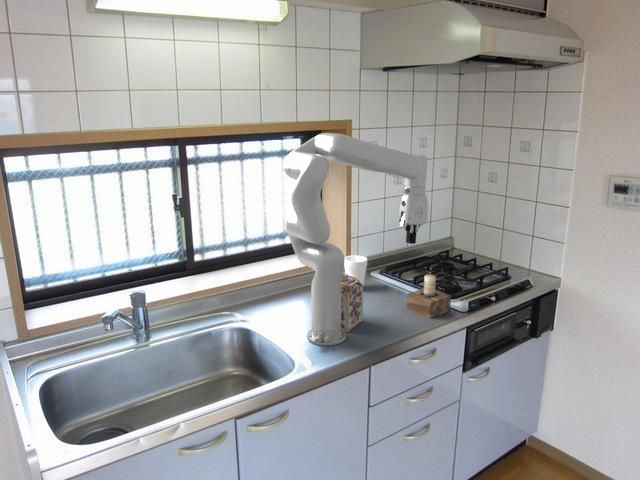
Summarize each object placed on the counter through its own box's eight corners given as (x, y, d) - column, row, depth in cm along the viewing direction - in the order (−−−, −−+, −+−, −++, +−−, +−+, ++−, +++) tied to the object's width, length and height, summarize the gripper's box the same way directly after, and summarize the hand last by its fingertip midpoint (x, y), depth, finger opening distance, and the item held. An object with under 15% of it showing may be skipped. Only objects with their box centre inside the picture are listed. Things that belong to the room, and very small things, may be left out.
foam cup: (366, 285, 216) (367, 255, 212) (366, 293, 207) (367, 262, 203) (344, 285, 216) (344, 255, 213) (342, 292, 208) (343, 261, 204)
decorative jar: (347, 333, 172) (347, 282, 167) (317, 325, 177) (317, 276, 173) (363, 320, 181) (364, 271, 177) (334, 313, 187) (334, 266, 183)
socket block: (429, 318, 183) (430, 302, 181) (406, 308, 191) (407, 293, 190) (450, 310, 189) (451, 295, 188) (427, 301, 198) (428, 287, 196)
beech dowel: (434, 309, 188) (436, 278, 185) (422, 309, 188) (424, 277, 185) (434, 305, 192) (435, 274, 189) (422, 304, 192) (424, 274, 189)
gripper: (406, 194, 170) (403, 248, 175) (437, 190, 179) (433, 242, 183) (390, 191, 176) (387, 243, 180) (421, 188, 185) (417, 238, 189)
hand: (410, 242), depth 182 cm, fingers closed
